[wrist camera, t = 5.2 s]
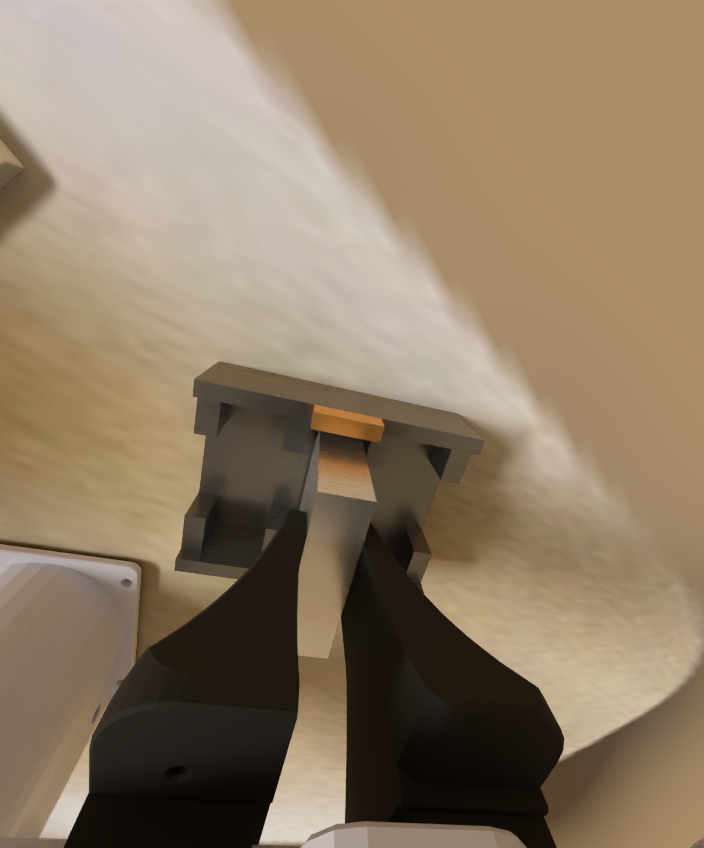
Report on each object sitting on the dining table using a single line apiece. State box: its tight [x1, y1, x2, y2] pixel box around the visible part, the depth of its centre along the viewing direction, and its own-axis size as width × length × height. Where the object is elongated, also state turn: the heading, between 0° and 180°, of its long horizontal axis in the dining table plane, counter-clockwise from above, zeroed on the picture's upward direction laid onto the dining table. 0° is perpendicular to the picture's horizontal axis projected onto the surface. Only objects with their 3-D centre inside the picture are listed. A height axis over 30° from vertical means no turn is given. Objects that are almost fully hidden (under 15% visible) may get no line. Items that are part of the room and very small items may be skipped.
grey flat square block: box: [297, 430, 376, 659], centre depth 13 cm, size 6×2×6 cm, turn 166°
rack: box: [175, 362, 484, 594], centre depth 15 cm, size 8×10×4 cm
